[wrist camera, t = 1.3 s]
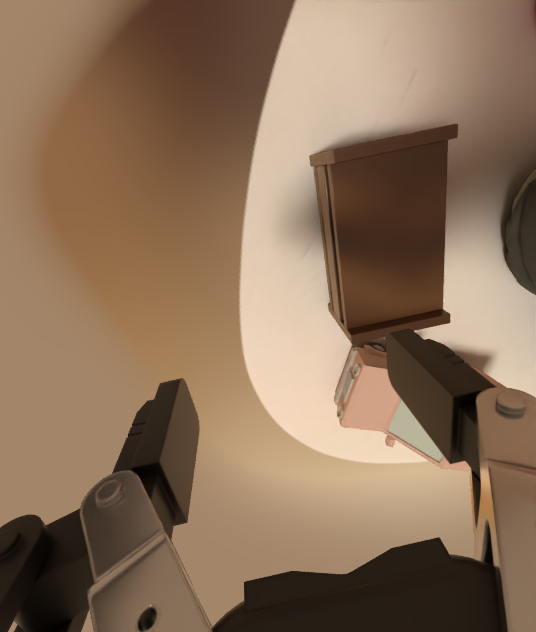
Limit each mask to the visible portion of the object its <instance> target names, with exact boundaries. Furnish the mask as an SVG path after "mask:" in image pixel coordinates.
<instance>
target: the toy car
mask: <svg viewBox="0 0 536 632" xmlns="http://www.w3.org/2000/svg"><path fill="white" fill-rule="evenodd" d="M471 367H472V368H474V369H475V370H476V371H477V372H479V373H480V374H481V375H482V376H484V377H485V378H486V379H487V380H489V381H490V382H491V383H492V384H494V385H495V386H496V387H503V388H506V387H505V386H503V385H502V384H500V383H499V382H497V381H496V380H494V379H493V378H491V377H490V376H488V375H486V374H485V373H483V372H482V371H480V370H479V369H477V368H476V367H474V366H471ZM334 402H335V404H337V407H338V410H337V417H338V418H339V420H340V425H341V426H342V427H347V428H356V429H364V430H372V431H381V432H384V433H385V434H387V435H388V436H387V437H386V441H385V442H386V445H387V446H390V447H393V446H394V443H395V440H397V441H398V442H400V443H401V444H403V445H405V446H406V447H408V448H410V449H411V450H413V451H414V452H416V453H418V454H419V455H421V456H422V457H424V458H426V459H427V460H429V461H430V462H432V463H434V464H435V465H437V466H438V467H440V468H442V469H452V470H462V471H470V470H471V468H470V466H469V465H468V464H467V463H466V461H463V462H459V463H454V464H449V462H448V461H447V460H446V458H445V457H444V456H443V454H442V453H441V452H440V450H439V449H438V448H437V446H436V445H435V444H434V442H433V441H432V440H431V438H430V437H429V436H428V434H427V433H426V432H425V430H424V429H423V428H422V426H421V425H420V424H419V422H418V421H417V420H416V418H415V417H414V416H413V414H412V413H411V412H410V410H409V409H408V408H407V406H406V405H405V404H404V402H403V401H402V400H401V398H400V397H399V396H398V394H397V393H396V392H395V390H394V389H393V387H392V385H391V383H390V380H389V377H388V371H387V354H386V347H385V346H383V345H381V344H377V343H370V344H369V345H364V348H360V347H353V348H352V350H351V353H350V355H349V358H348V361H347V363H346V366H345V369H344V372H343V374H342V377H341V380H340V382H339V385H338V388H337V391H336V393H335V396H334Z"/></svg>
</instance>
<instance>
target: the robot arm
mask: <svg viewBox="0 0 536 632" xmlns="http://www.w3.org/2000/svg"><path fill="white" fill-rule="evenodd" d="M386 354H387V371H388V377H389V380H390V383H391V385H392V387H393V389H394V390H395V392H396V393H397V394H398V396H399V397H400V398H401V400H402V401H403V402H404V404H405V405H406V406H407V408H408V409H409V410H410V412H411V413H412V414H413V416H414V417H415V418H416V420H417V421H418V422H419V424H420V425H421V426H422V428H423V429H424V430H425V432H426V433H427V434H428V436H429V437H430V438H431V440H432V441H433V442H434V444H435V445H436V446H437V448H438V449H439V450H440V452H441V453H442V454H443V456H444V457H445V458H446V460H447V461H448V462H449V464H454V463H459V462H463V461H466V463H467V464H468V465H469V466H470V468H471V470H470V486H471V501H472V516H473V532H474V559H473V558H469V557H464V556H458V555H450V554H449V553H448V551H447V550H446V548H445V546H444V544H443V543H442V541H441V539H440V538H434V539H430V540H425V541H421V542H417V543H412V544H408V545H403V546H400V547H395V548H391V549H389V550H388V551H386V552H384V553H383V554H381V555H379V556H378V557H376V558H375V559H372V560H371V561H369V562H367V563H366V564H364V565H362V566H361V567H359V568H357V569H355V570H354V571H352V572H350V573H348V574H328V573H314V572H300V571H290V572H286V573H281V574H277V575H272V576H269V577H264V578H259V579H255V580H250V581H246V582H244V601H243V602H241V603H240V604H238V605H237V606H235V607H234V608H233V609H231V610H230V611H229V612H227V613H226V614H225V615H224V616H223V617H222V618H221V619H220V620H219V621H218V622H217V623H216V624H215V625H214V626H213V625H212V623H211V621H210V619H209V617H208V615H207V613H206V611H205V609H204V607H203V605H202V603H201V601H200V599H199V597H198V594H197V592H196V591H195V588H194V586H193V584H192V582H191V580H190V578H189V576H188V574H187V572H186V570H185V568H184V566H183V563H182V561H181V559H180V557H179V555H178V553H177V551H176V549H175V547H174V545H173V543H172V541H171V538H172V532H173V526H175V525H180V524H184V523H187V521H188V513H189V506H190V498H191V491H192V483H193V476H194V468H195V461H196V452H197V446H198V437H199V419H198V415H197V412H196V409H195V406H194V403H193V401H192V398H191V395H190V392H189V390H188V387H187V384H186V382H185V380H184V379H182V378H181V379H177V380H172V381H168V382H163V383H160V385H159V387H158V390H157V393H156V396H155V399H154V400H150V401H147V402H146V403H145V404H144V405H143V406H142V408H141V409H140V410H139V411H138V412H137V414H136V416H135V419H134V421H133V424H132V427H131V428H130V431H129V433H128V438H126V441H125V443H124V446H123V448H122V451H121V453H120V456H119V458H118V460H117V463H116V465H115V468H114V470H113V473H112V474H111V475H109V476H107V477H105V478H104V479H102V480H101V481H99V482H98V483H97V484H96V485H95V486H94V487H93V488H92V489H91V490H90V491H89V492H88V493H87V495H86V496H85V498H84V500H83V501H82V504H81V507H80V509H78V510H76V511H74V512H72V513H70V514H68V515H66V516H64V517H62V518H60V519H58V520H56V521H54V522H52V523H50V524H48V525H45V524H44V522H43V521H42V520H41V518H40V517H38V516H36V515H25V516H21V517H18V518H16V519H14V520H12V521H10V522H8V523H7V524H5V525H3V526H2V527H1V528H0V632H8V631H9V629H10V627H11V625H12V623H13V621H15V622H16V623H17V624H18V625H17V627H16V629H15V631H14V632H81V630H82V628H83V625H84V622H85V619H86V617H87V614H88V611H89V609H90V614H91V619H92V625H93V630H94V632H536V398H535V397H534V396H532V395H530V394H528V393H525V392H523V391H520V390H516V389H512V388H503V387H496V386H495V385H494V384H492V383H491V382H490V381H489V380H487V379H486V378H485V377H484V376H482V375H481V374H480V373H479V372H477V371H476V370H475V369H474V368H472V367H471V366H470V365H469V364H467V363H465V362H464V360H462V359H461V358H460V357H459V356H458V355H455V353H454V352H453V351H451V350H450V349H449V348H448V347H446V346H445V345H443V344H441V343H438V342H436V341H433V340H431V339H427V340H423V339H422V338H421V337H420V336H419V335H418V334H416V333H415V332H414V331H413V330H412V329H404V330H400V331H395V332H391V333H387V335H386Z"/></svg>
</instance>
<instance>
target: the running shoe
mask: <svg viewBox="0 0 536 632" xmlns="http://www.w3.org/2000/svg"><path fill="white" fill-rule="evenodd" d="M512 211H513V212H512V217H511V218H510V219H509V220H508V222H507V224H506V230H505V243H506V246H507V248H508V252H507V253H506V259H507V263H508V266H509V268H510V271H511V272H512V273H513V275H514V276H515V277H516V279H517V282H518V283H519V284H520V285H521V286H523V287H524V288H525V289H527V290H528V291H530V292H531V293H533V294H535V295H536V169H535V170H534V171H533V172H532V173H531V174H530V175H529V177H528V178H527V180H526V181H525V183H524V184H523V186H522V187H521V189H520V191H519V193H518V194H517V196H516V198H515V200H514V202H513V204H512Z"/></svg>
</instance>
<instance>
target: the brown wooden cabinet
mask: <svg viewBox="0 0 536 632" xmlns="http://www.w3.org/2000/svg"><path fill="white" fill-rule="evenodd" d="M457 135H458V124H453V125H448V126H443V127H438V128H434V129H429V130H424V131H419V132H415V133H410V134H405V135H400V136H396V137H391V138H386V139H382V140H377V141H372V142H367V143H363V144H358V145H353V146H348V147H344V148H339V149H334V150H330V151H326V152H323V153H319V154H315V155H311V156H309V158H310V166H314V175H315V183H316V192H317V200H318V208H319V216H320V224H321V232H322V240H323V249H324V257H325V265H326V273H327V281H328V289H329V297H330V303H329V304H328V308H329V312H330V313H331V315H332V316H333V317H334V319H335V320H336V322H337V323H338V325H339V326H340V327H341V329H342V330H343V332H344V333H345V335H346V336H347V338H348V339H349V340H350V342H351V343H352V344H354V343H359V342H364V341H368V340H373V339H378V338H382V337H386V335H387V333H391V332H395V331H400V330H404V329H412V330H413V331H415V330H419V329H424V328H428V327H433V326H438V325H442V324H447V323H450V314H449V313H448V312H446V311H445V310H443V285H444V251H445V218H446V185H447V152H448V140H449V139H454V138H457Z"/></svg>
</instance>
